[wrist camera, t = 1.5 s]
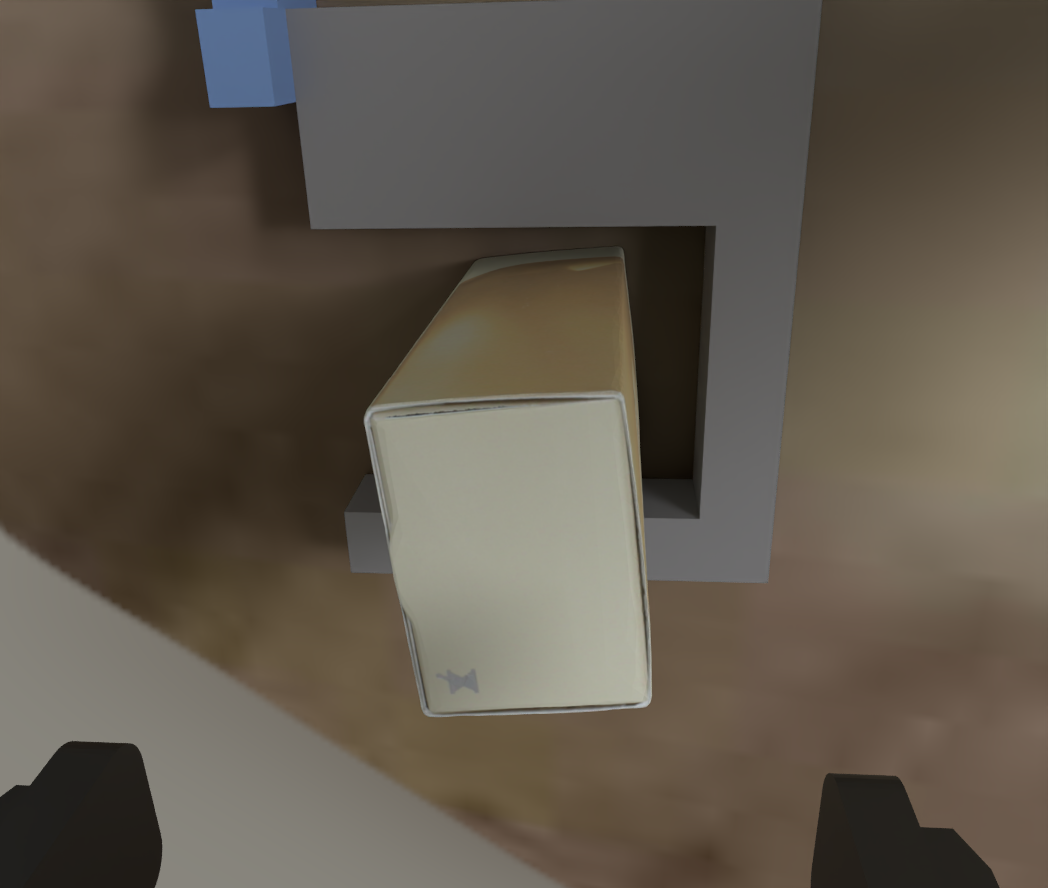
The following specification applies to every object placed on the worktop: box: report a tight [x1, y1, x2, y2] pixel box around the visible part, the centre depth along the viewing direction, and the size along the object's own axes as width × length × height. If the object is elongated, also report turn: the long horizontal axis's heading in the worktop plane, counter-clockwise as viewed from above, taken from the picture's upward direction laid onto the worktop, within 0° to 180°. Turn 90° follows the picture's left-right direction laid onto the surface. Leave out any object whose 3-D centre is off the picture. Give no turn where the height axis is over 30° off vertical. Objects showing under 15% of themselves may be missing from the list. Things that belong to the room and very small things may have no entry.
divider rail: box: [195, 0, 822, 583], centre depth 22 cm, size 14×25×4 cm, turn 1°
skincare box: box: [364, 246, 652, 717], centre depth 21 cm, size 6×4×12 cm
